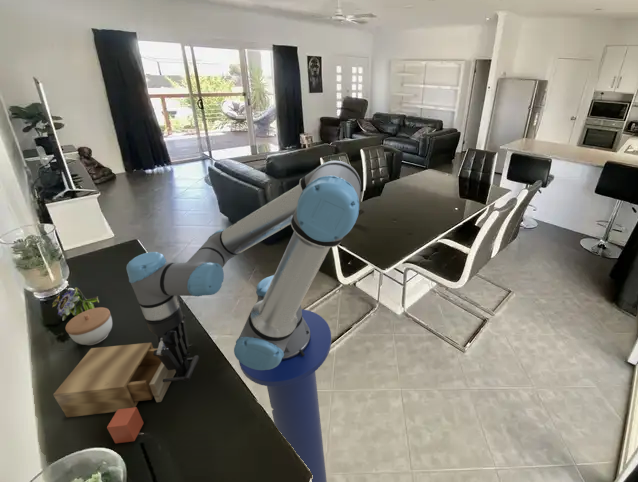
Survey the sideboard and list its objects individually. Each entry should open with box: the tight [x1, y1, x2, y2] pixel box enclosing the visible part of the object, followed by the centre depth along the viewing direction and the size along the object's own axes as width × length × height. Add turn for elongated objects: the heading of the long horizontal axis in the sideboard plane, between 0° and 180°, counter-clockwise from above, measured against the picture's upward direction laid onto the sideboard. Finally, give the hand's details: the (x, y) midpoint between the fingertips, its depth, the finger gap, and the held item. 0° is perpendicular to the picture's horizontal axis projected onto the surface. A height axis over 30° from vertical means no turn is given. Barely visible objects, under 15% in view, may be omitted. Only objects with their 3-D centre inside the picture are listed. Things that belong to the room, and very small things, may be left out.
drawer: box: [127, 347, 200, 403], centre depth 87 cm, size 21×12×7 cm, turn 97°
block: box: [106, 406, 144, 444], centre depth 76 cm, size 4×4×6 cm
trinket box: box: [65, 306, 113, 346], centre depth 101 cm, size 11×11×9 cm
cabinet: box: [52, 342, 155, 418], centre depth 85 cm, size 16×14×9 cm
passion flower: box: [51, 287, 100, 322], centre depth 112 cm, size 11×11×12 cm
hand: (185, 377), depth 89 cm, fingers closed
